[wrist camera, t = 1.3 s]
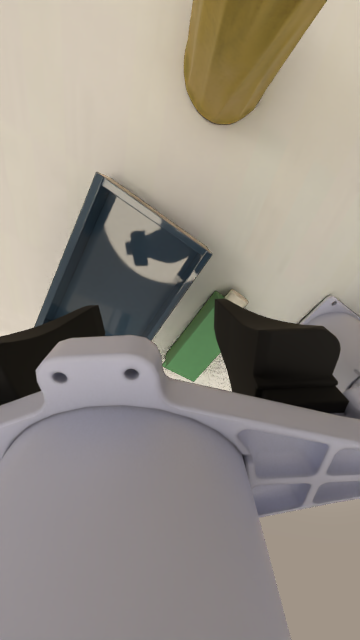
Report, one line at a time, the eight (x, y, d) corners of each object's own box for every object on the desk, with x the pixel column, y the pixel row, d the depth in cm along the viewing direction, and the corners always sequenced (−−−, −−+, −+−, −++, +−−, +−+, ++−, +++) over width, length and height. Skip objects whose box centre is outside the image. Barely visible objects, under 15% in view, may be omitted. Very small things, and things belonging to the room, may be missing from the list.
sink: (207, 246, 21) (212, 254, 18) (129, 359, 27) (123, 379, 24) (110, 177, 18) (96, 171, 15) (48, 320, 24) (29, 337, 21)
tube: (222, 281, 22) (227, 289, 20) (250, 300, 24) (258, 310, 21) (162, 358, 27) (161, 372, 25) (188, 371, 28) (189, 386, 26)
